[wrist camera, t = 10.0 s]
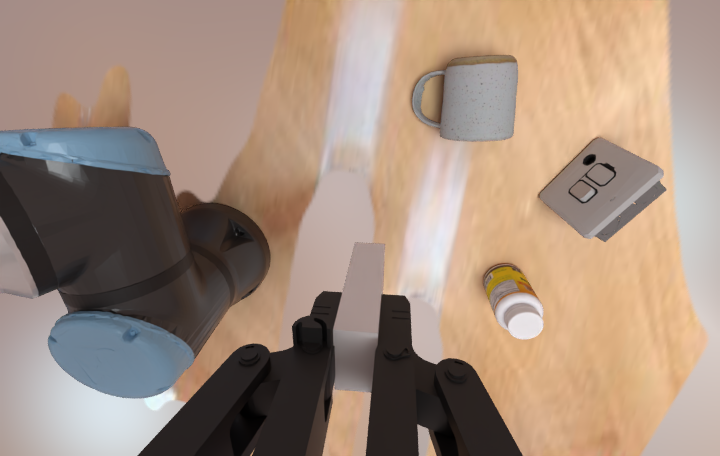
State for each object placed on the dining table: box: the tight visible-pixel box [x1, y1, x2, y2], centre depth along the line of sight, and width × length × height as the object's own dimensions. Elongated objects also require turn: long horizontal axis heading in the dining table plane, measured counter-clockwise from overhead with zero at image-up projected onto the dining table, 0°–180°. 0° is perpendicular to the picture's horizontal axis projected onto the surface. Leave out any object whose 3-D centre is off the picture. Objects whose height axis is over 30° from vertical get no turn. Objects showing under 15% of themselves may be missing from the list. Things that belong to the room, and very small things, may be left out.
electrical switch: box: [540, 138, 666, 242], centre depth 40 cm, size 9×5×9 cm, turn 145°
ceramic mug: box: [412, 55, 518, 141], centre depth 38 cm, size 11×8×8 cm
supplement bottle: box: [483, 264, 543, 339], centre depth 46 cm, size 6×6×10 cm
